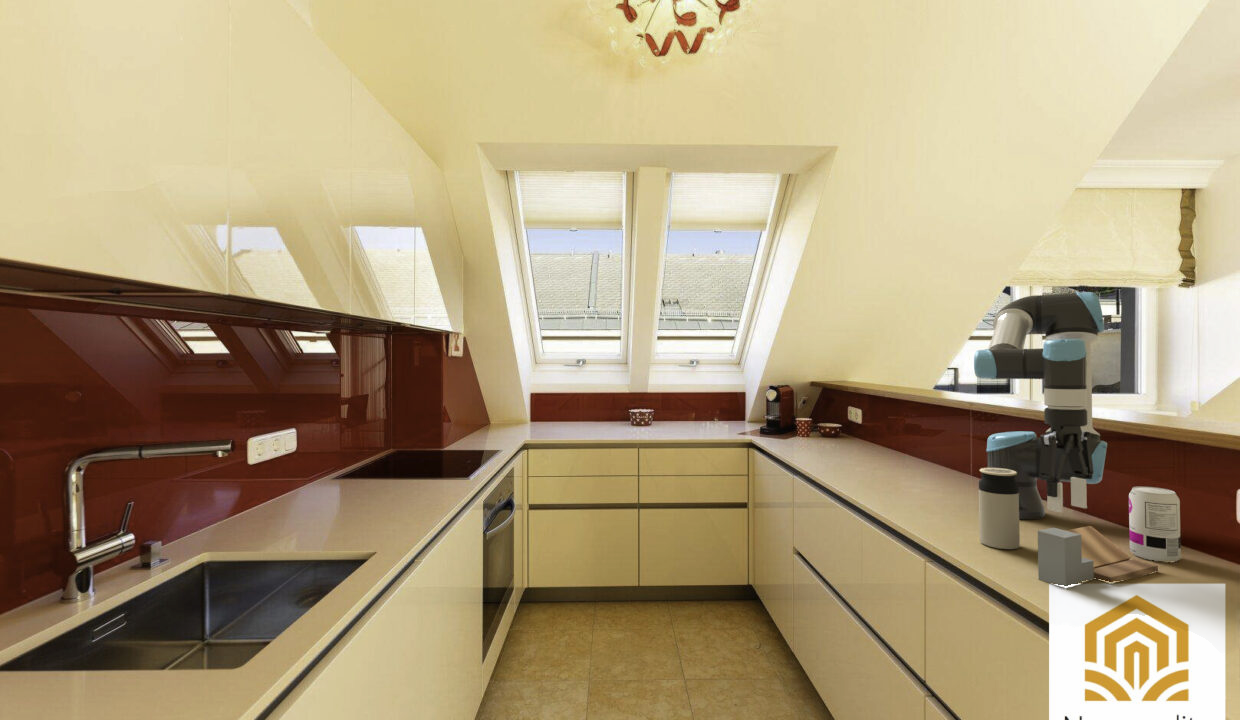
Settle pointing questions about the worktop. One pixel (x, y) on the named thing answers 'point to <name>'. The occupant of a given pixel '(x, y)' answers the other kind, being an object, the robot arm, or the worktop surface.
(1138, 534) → the supplement can
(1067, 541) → the block
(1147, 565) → the laid row
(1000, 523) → the travel mug
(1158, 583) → the worktop surface
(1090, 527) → the plank
